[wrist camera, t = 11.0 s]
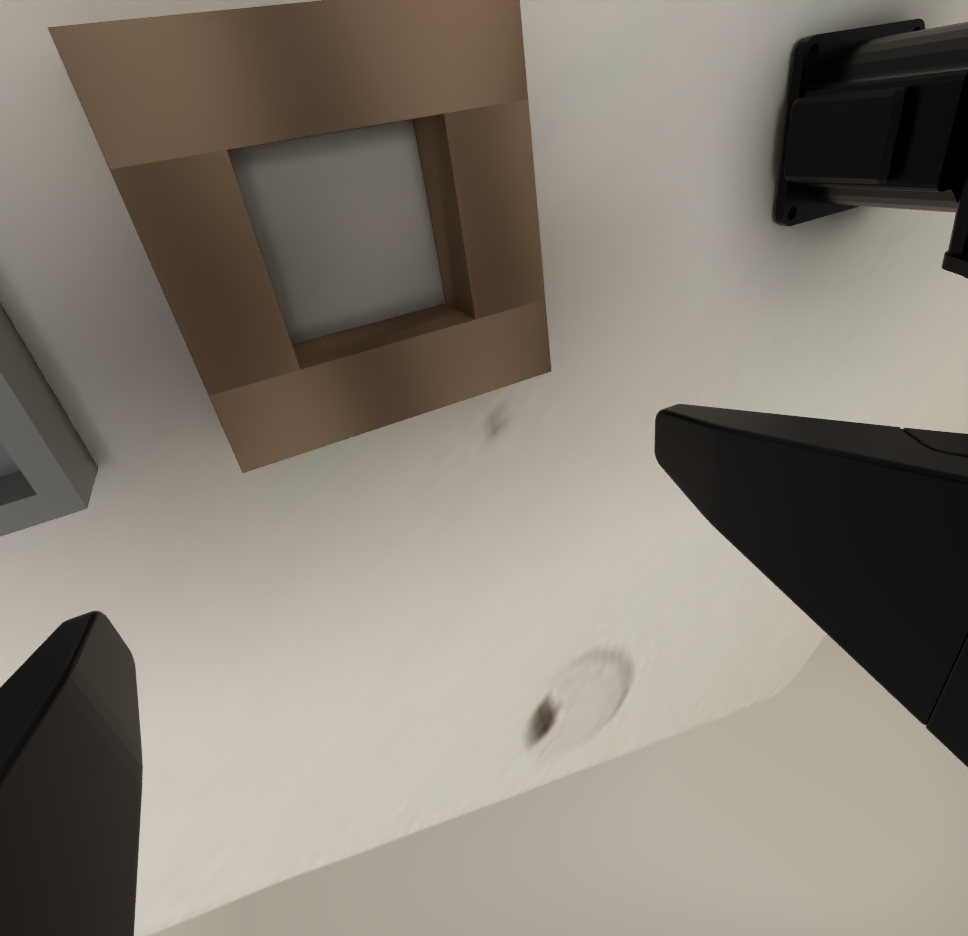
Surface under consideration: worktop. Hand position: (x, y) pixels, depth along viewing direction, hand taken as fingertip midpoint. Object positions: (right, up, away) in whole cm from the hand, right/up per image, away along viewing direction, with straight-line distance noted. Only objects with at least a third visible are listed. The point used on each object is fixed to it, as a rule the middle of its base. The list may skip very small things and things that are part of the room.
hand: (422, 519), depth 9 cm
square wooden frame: (-3, +8, +8) cm, 12 cm away
